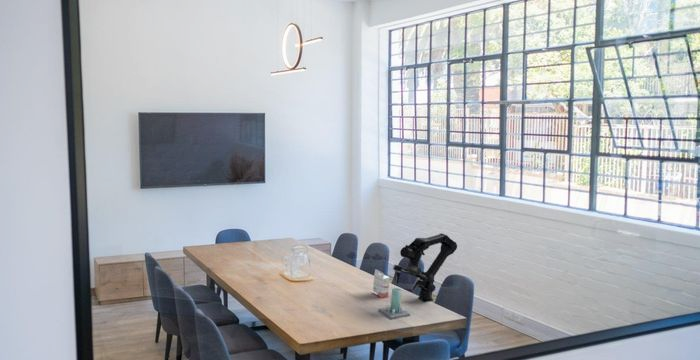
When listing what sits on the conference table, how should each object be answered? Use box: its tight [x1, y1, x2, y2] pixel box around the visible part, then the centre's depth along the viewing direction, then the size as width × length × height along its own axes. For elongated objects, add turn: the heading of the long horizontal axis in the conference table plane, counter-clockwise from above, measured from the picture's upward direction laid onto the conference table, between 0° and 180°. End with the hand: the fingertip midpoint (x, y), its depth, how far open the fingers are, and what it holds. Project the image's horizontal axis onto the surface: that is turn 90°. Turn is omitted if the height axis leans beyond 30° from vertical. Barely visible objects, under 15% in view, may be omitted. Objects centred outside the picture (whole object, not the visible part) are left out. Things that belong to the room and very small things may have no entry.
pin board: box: [378, 304, 411, 320], centre depth 333 cm, size 12×12×4 cm
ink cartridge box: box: [372, 268, 390, 299], centre depth 355 cm, size 9×5×15 cm, turn 37°
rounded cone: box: [389, 287, 402, 313], centre depth 332 cm, size 5×5×12 cm
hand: (404, 287), depth 341 cm, fingers open, 9 cm apart
